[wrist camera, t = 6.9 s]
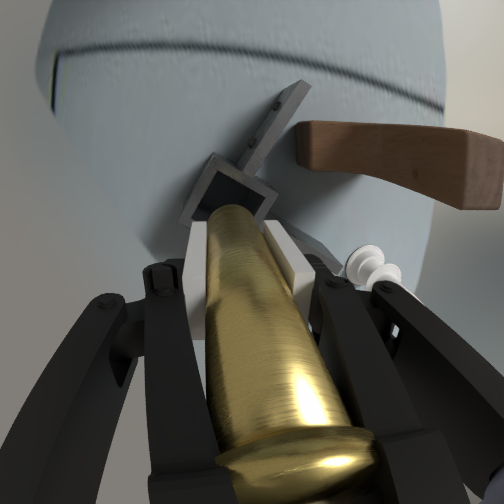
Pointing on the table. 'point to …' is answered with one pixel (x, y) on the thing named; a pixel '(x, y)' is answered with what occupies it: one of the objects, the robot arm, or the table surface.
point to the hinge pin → (272, 380)
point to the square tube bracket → (261, 190)
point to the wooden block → (410, 158)
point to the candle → (371, 268)
